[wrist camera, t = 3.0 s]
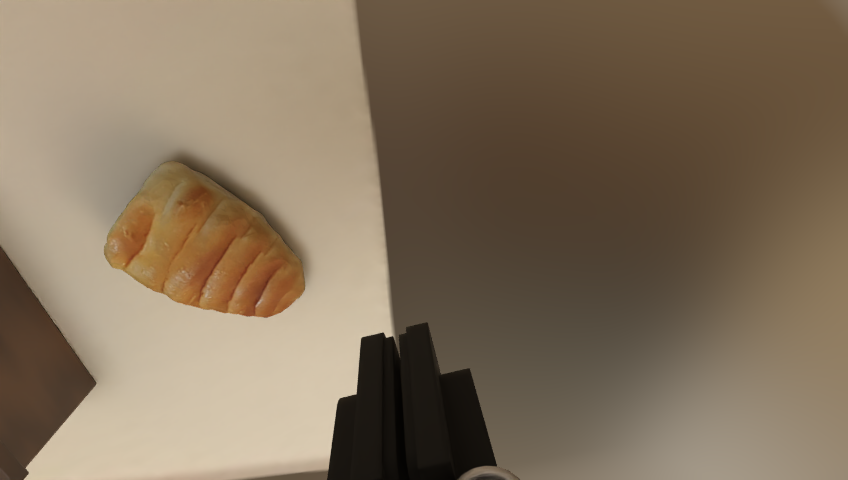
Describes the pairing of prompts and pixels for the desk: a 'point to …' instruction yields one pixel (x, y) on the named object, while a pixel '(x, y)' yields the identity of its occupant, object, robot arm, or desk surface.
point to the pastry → (203, 246)
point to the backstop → (32, 375)
